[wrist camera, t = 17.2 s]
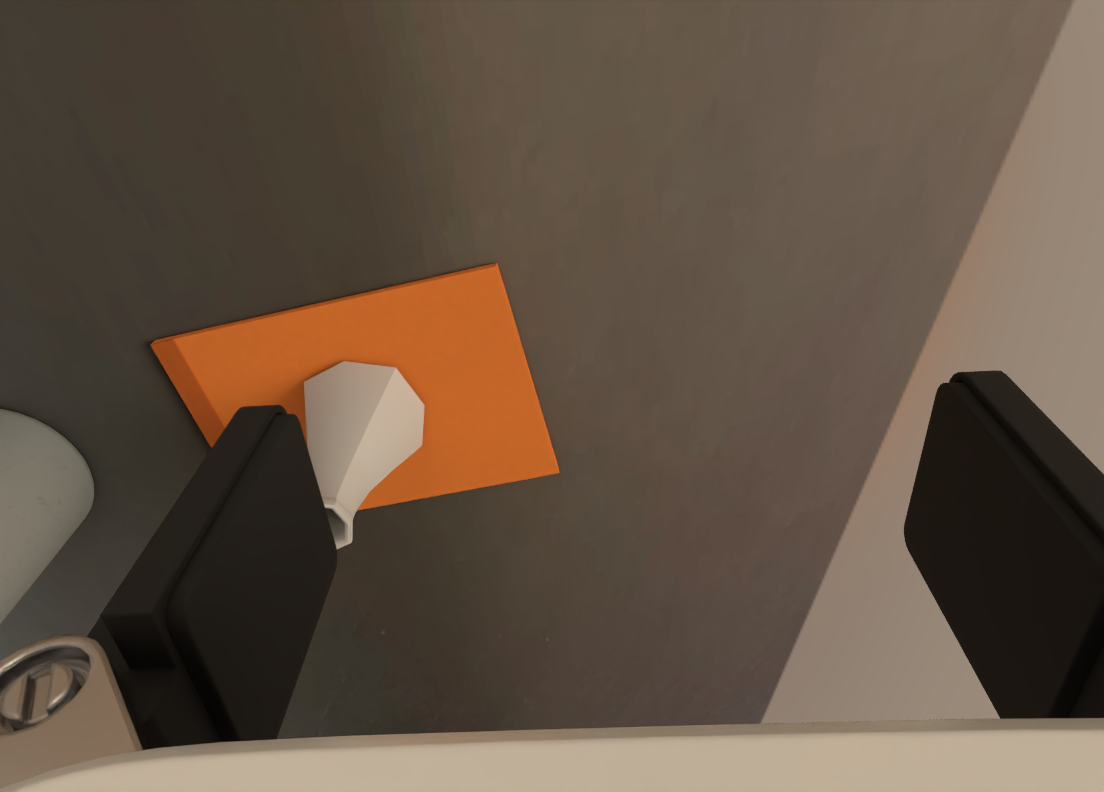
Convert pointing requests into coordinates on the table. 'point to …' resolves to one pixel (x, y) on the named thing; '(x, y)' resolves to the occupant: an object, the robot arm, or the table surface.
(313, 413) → the flask
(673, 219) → the table surface
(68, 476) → the water bottle
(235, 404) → the orange rectangular board
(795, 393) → the table surface
